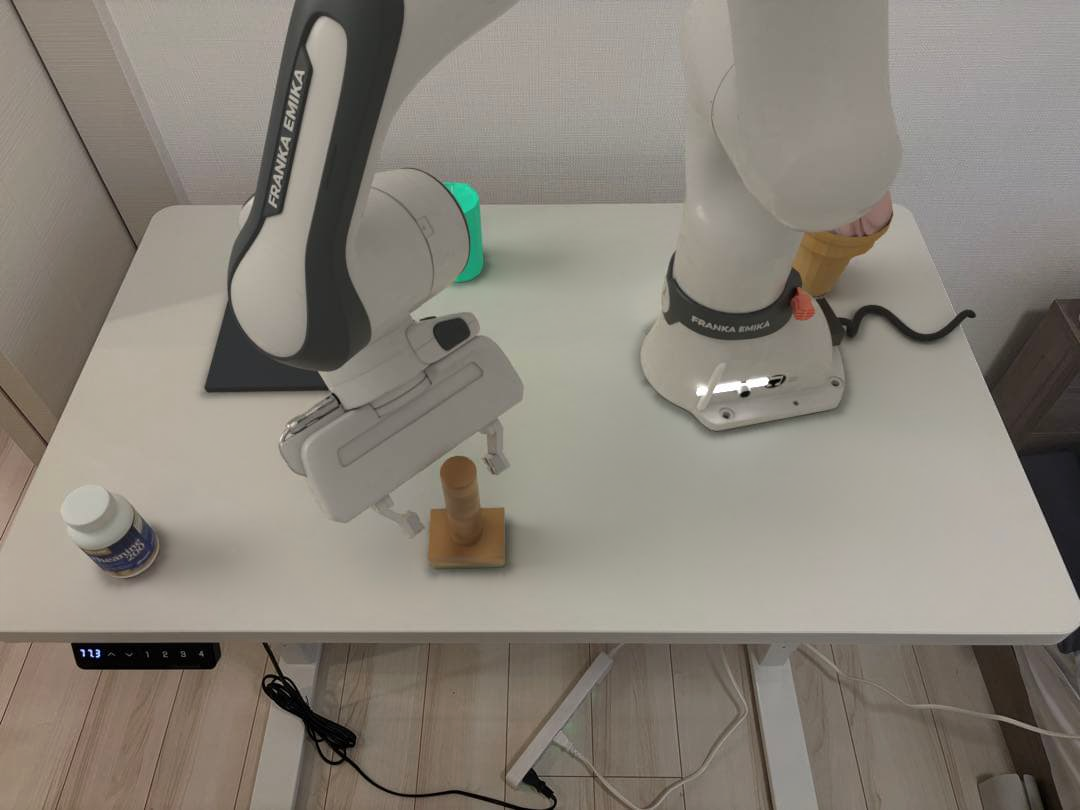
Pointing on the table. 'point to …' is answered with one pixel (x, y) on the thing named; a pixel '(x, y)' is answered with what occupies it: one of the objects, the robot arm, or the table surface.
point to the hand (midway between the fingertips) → (459, 501)
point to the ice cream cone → (839, 247)
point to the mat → (252, 366)
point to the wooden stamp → (465, 522)
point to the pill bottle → (109, 531)
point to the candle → (470, 227)
